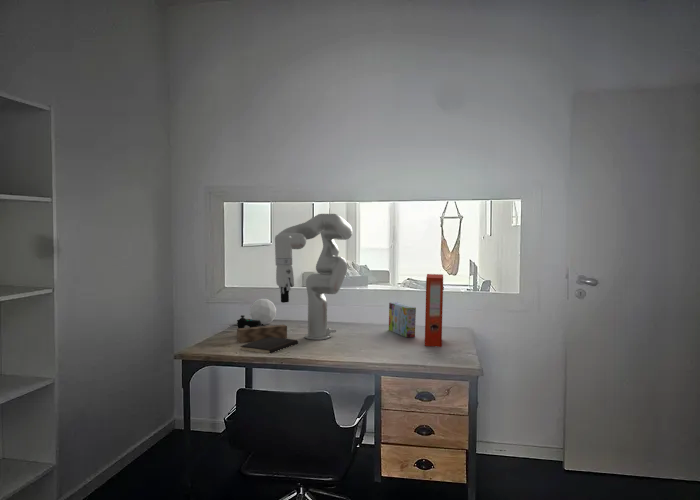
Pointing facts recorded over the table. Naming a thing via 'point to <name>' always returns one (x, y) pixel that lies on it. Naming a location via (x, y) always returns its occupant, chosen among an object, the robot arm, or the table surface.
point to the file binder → (434, 310)
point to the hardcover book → (269, 344)
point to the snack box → (402, 319)
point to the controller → (247, 322)
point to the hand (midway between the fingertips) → (284, 302)
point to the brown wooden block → (261, 333)
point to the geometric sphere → (263, 311)
